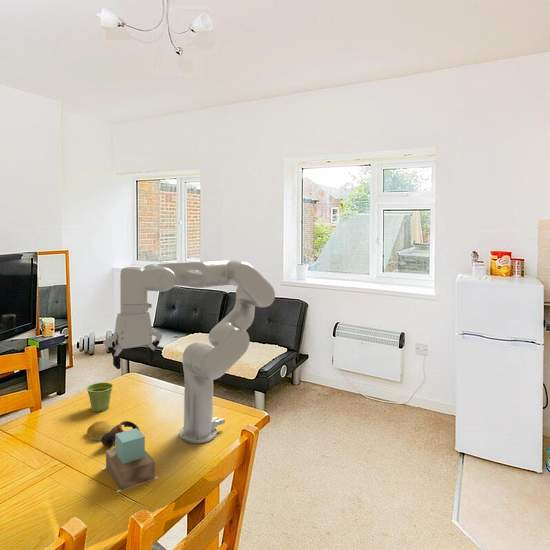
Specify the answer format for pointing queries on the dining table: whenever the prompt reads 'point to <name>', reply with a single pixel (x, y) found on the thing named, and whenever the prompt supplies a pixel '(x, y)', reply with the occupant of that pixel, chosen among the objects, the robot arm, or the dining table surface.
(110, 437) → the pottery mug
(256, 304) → the robot arm
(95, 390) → the plant pot
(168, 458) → the dining table surface
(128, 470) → the plinth
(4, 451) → the dining table surface
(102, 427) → the bread roll
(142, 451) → the teal cube
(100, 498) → the dining table surface
